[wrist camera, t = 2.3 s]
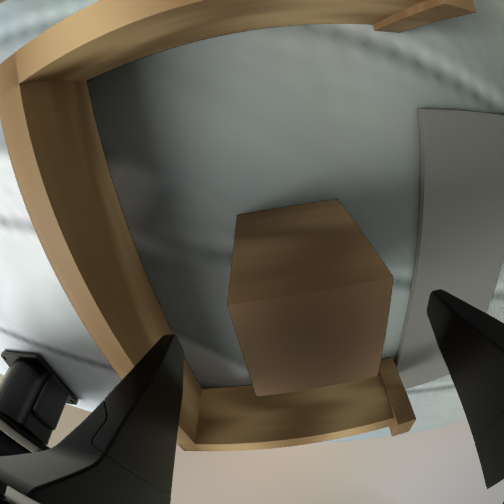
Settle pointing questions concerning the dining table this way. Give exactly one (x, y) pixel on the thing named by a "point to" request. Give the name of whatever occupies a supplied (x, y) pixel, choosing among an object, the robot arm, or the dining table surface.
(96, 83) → the dining table surface
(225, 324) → the dining table surface
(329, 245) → the block
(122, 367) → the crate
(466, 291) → the mat
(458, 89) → the dining table surface
